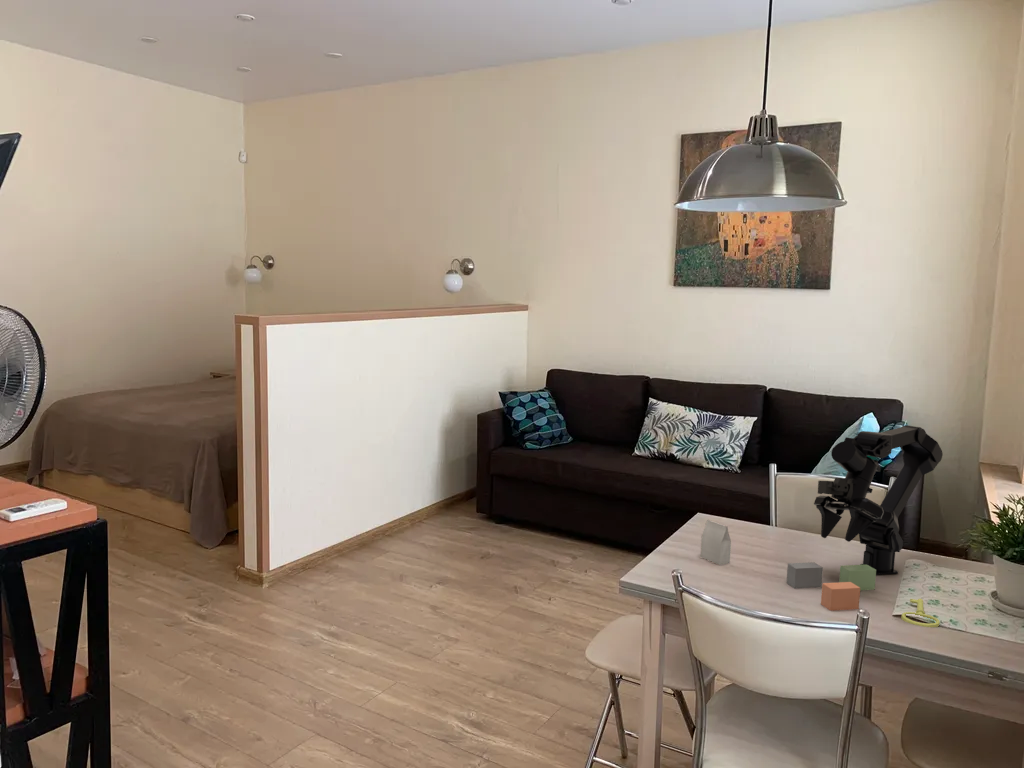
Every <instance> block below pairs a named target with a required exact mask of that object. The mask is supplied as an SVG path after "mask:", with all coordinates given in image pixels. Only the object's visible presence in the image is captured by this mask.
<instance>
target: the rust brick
mask: <svg viewBox="0 0 1024 768" xmlns="http://www.w3.org/2000/svg"><path fill="white" fill-rule="evenodd" d="M860 596H861V590H860V587H858V586H856V585H855V584H853V583H852V582H822V586H821V596H820V597H821V598H820V605H822V607H824V608H825V609H827V611H831V612H832V611H833V612H834V611H849V610H860V601H861V599H860V598H861V597H860Z"/></svg>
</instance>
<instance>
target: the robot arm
mask: <svg viewBox="0 0 1024 768" xmlns="http://www.w3.org/2000/svg"><path fill="white" fill-rule="evenodd" d="M896 448H897V449H898V448H900V450H901V451H902V454H901V455H902V460H903V465H902V467H901V469H900V471H899V472H898V474H897V476H896V477H895V479H894V481H893V483H892V484H891V486H890V488H889V490H888V492H887V493H886V494H885V496H884V498H883V500H882V502H881V503H880V505H879V503H876V502H874V501H872V500H871V499H870V498H867V494H872V493H873V488H871V484H872V481H873V479H874V477H875V476H874V475H875V474H876V472H879V473H880V472H881V466H880V464H879V460H876V459H872V458H871V457H873V458H879V459H884V458H886V457H887V456H889V455H891V454H892V450H893V449H894V450H895V449H896ZM943 453H944V452H943V450H942V447H940V444H939V442H938V441H937V440H936V439H934V438H933V437H931V435H929V434H927V432H926V430H925V429H924V428H922V427H920V426H914V425H907V424H906V425H902V426H901V427H898V428H894V429H889V430H886V431H881V432H877V431H868V430H867V431H866V430H861V431H859V432H858V433H857V435H856V436H854V437H847V436H846V437H845V438H844V441H841V442H838V443H837V444H836V445H834V447H833V448H832V449H831V458H832V460H833V461H834V462H835V463H837V465H839V466H840V467H841V468H842V469H843V470H844V471H845V472H847V473H846V475H845V477H835V478H834V480H818V481H817V484H818V485H817V494H819V495H818V496H816V497H815V500H814V502H813V505H814V506H815V507H816V509H817V510H819V513H820V516H821V529H820V531H821V534H820V537H821V538H822V539H826V538H827V537H828V536H829V535H830V534H831V533H832V531H833V530H834V529H835V527H836V526H837V525H838V523H839V521H840V520H841V519H842V514H843V513H844V512H845V511H848V512H849V514H850V520H849V523H848V525H847V529H846V534H845V537H844V540H845V542H847V543H850V542H851V541H852V540H853V539H854V538H856V537H857V536H859V543H860V544H861V545H865V550H864V551H863V560H862V563H860V564H859V565H866V564H867V565H869V566H870V567H872V568H874V569H876V575H891V574H892V575H893V574H894V575H896V574H899V571H898V570H896V569H895V561H896V560H895V557H896V553H900V552H901V550H902V549H903V546H904V545H903V544H904V541H903V538H902V537H901V535H900V534H899V531H900V526H899V520H898V519H899V516H900V515H901V513H902V512H903V510H904V508H905V506H906V505H907V503H908V501H909V499H910V498H911V496H912V495H913V492H914V490H915V489H916V488H917V485H918V483H920V480H921V478H922V477H923V476H924V475H927V474H928V473H930V472H932V471H934V470H935V469H936V468H937V466H938V464H939V463H941V460H942V459H943ZM830 495H831V496H830Z"/></svg>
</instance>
